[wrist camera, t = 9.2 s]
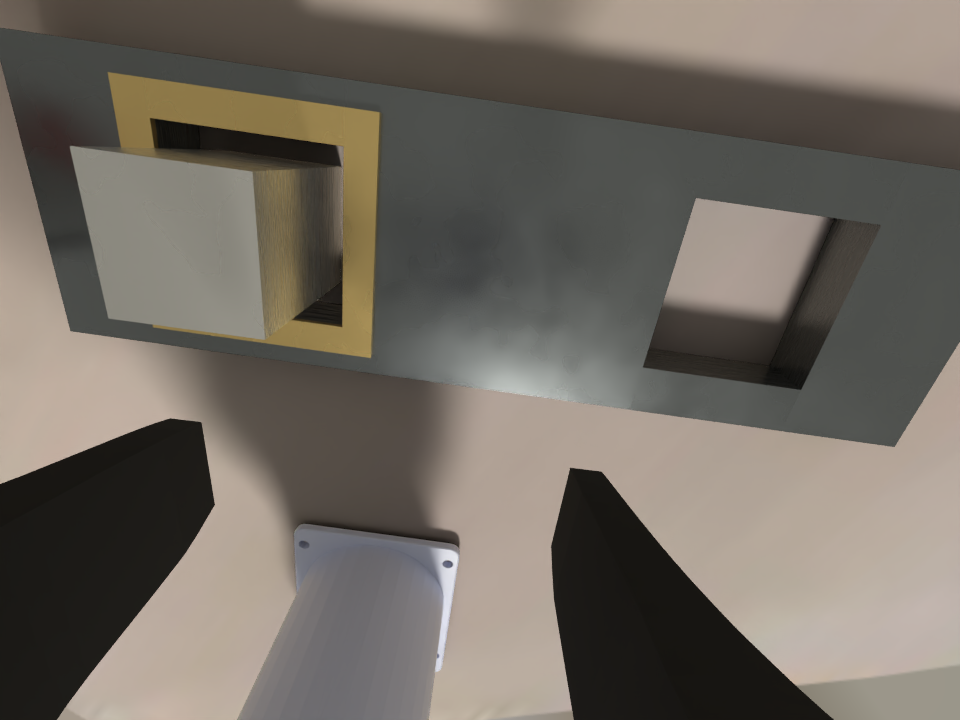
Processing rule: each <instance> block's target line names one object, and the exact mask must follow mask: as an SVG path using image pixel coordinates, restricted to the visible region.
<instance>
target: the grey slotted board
mask: <svg viewBox="0 0 960 720" xmlns="http://www.w3.org/2000/svg"><path fill="white" fill-rule="evenodd" d="M0 61H1V65H2V69H3V73H4V76H5V80H6V84H7V88H8V92H9V96H10V100H11V103H12V107H13V111H14V115H15V119H16V123H17V126H18V130H19V134H20V138H21V142H22V146H23V150H24V153H25V157H26V161H27V165H28V169H29V173H30V177H31V180H32V184H33V188H34V192H35V196H36V200H37V204H38V207H39V211H40V215H41V219H42V223H43V227H44V230H45V234H46V238H47V242H48V246H49V250H50V254H51V257H52V261H53V265H54V269H55V273H56V277H57V281H58V284H59V288H60V292H61V296H62V300H63V304H64V308H65V311H66V315H67V319H68V323H69V327H70V331H74V332H81V333H88V334H95V335H102V336H109V337H116V338H123V339H130V340H138V341H145V342H152V343H159V344H166V345H173V346H180V347H187V348H195V349H202V350H209V351H216V352H223V353H230V354H237V355H244V356H251V357H259V358H266V359H273V360H280V361H287V362H294V363H301V364H308V365H315V366H323V367H330V368H337V369H344V370H351V371H358V372H365V373H372V374H380V375H387V376H394V377H401V378H408V379H415V380H422V381H429V382H436V383H444V384H451V385H458V386H465V387H472V388H479V389H486V390H493V391H500V392H508V393H515V394H522V395H529V396H536V397H543V398H550V399H557V400H565V401H572V402H579V403H586V404H593V405H600V406H607V407H614V408H621V409H629V410H636V411H643V412H650V413H657V414H664V415H671V416H678V417H685V418H693V419H700V420H707V421H714V422H721V423H728V424H735V425H742V426H750V427H757V428H764V429H771V430H778V431H785V432H792V433H799V434H806V435H814V436H821V437H828V438H835V439H842V440H849V441H856V442H863V443H870V444H878V445H885V446H892V447H895V445H896V444H897V442H898V440H899V439H900V437H901V435H902V434H903V432H904V431H905V429H906V427H907V426H908V424H909V423H910V421H911V419H912V418H913V416H914V415H915V413H916V411H917V410H918V408H919V406H920V405H921V403H922V402H923V400H924V398H925V397H926V395H927V394H928V392H929V390H930V389H931V387H932V386H933V384H934V382H935V381H936V379H937V377H938V376H939V374H940V373H941V371H942V369H943V368H944V366H945V365H946V363H947V361H948V360H949V358H950V357H951V355H952V353H953V352H954V350H955V348H956V347H957V345H958V344H959V342H960V170H955V169H948V168H942V167H935V166H928V165H921V164H915V163H908V162H901V161H894V160H888V159H881V158H874V157H868V156H861V155H854V154H847V153H841V152H834V151H827V150H820V149H814V148H807V147H800V146H793V145H787V144H780V143H773V142H766V141H760V140H753V139H746V138H740V137H733V136H726V135H719V134H713V133H706V132H699V131H692V130H686V129H679V128H672V127H665V126H659V125H652V124H645V123H639V122H632V121H625V120H618V119H612V118H605V117H598V116H591V115H585V114H578V113H571V112H564V111H558V110H551V109H544V108H538V107H531V106H524V105H517V104H511V103H504V102H497V101H490V100H484V99H477V98H470V97H463V96H457V95H450V94H443V93H437V92H430V91H423V90H416V89H410V88H403V87H396V86H389V85H383V84H376V83H369V82H362V81H356V80H349V79H342V78H335V77H329V76H322V75H315V74H309V73H302V72H295V71H288V70H282V69H275V68H268V67H261V66H255V65H248V64H241V63H234V62H228V61H221V60H214V59H208V58H201V57H194V56H187V55H181V54H174V53H167V52H160V51H154V50H147V49H140V48H133V47H127V46H120V45H113V44H107V43H100V42H93V41H86V40H80V39H73V38H66V37H59V36H53V35H46V34H39V33H32V32H26V31H19V30H12V29H6V28H0ZM197 125H202V126H209V127H215V128H222V129H229V130H236V131H243V132H250V133H256V134H263V135H270V136H277V137H284V138H291V139H297V140H304V141H311V142H318V143H325V144H331V145H338V146H344V174H343V305H338V304H331V303H324V302H317V301H315V302H314V303H312V304H311V305H310V306H309V307H307V308H306V309H305V310H303V311H302V312H301V313H299V314H298V315H297V316H295V317H294V318H293V319H292V320H290V321H289V322H288V323H286V324H285V325H284V326H282V327H281V328H280V329H279V330H277V331H276V332H275V333H273V334H272V335H271V336H269V337H268V338H267V339H265V340H262V339H255V338H248V337H240V336H233V335H226V334H218V333H211V332H204V331H196V330H189V329H182V328H174V327H167V326H160V325H153V324H145V323H138V322H131V321H123V320H116V319H109V318H108V314H107V310H106V305H105V301H104V297H103V292H102V288H101V283H100V279H99V274H98V270H97V266H96V261H95V257H94V252H93V248H92V243H91V239H90V235H89V230H88V226H87V221H86V217H85V212H84V208H83V204H82V199H81V195H80V190H79V186H78V181H77V177H76V173H75V168H74V164H73V159H72V155H71V150H70V146H92V147H129V148H165V149H200V143H199V134H198V126H197ZM696 198H701V199H707V200H714V201H721V202H728V203H735V204H742V205H748V206H755V207H762V208H769V209H776V210H783V211H789V212H796V213H803V214H810V215H817V216H823V217H830V218H835V221H834V223H833V225H832V227H831V230H830V232H829V234H828V236H827V239H826V241H825V243H824V245H823V248H822V250H821V252H820V254H819V257H818V259H817V261H816V263H815V266H814V268H813V270H812V272H811V275H810V277H809V279H808V281H807V284H806V286H805V288H804V290H803V293H802V295H801V297H800V300H799V302H798V304H797V306H796V309H795V311H794V313H793V315H792V318H791V320H790V322H789V324H788V327H787V329H786V331H785V333H784V336H783V338H782V340H781V342H780V345H779V347H778V349H777V351H776V354H775V356H774V358H773V360H772V363H771V365H770V366H767V365H760V364H753V363H746V362H739V361H732V360H725V359H718V358H711V357H704V356H697V355H690V354H683V353H676V352H669V351H662V350H655V349H649V346H650V342H651V339H652V336H653V333H654V330H655V326H656V323H657V320H658V317H659V314H660V310H661V307H662V304H663V301H664V298H665V295H666V291H667V288H668V285H669V282H670V279H671V275H672V272H673V269H674V266H675V263H676V260H677V256H678V253H679V250H680V247H681V244H682V240H683V237H684V234H685V231H686V228H687V224H688V221H689V218H690V215H691V212H692V209H693V205H694V202H695V199H696Z"/></svg>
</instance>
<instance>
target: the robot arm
mask: <svg viewBox="0 0 960 720" xmlns="http://www.w3.org/2000/svg"><path fill="white" fill-rule="evenodd" d="M214 505H215V504H214V497H213V491H212V485H211V479H210V473H209V466H208V460H207V454H206V448H205V442H204V435H203V429H202V423H201V422H194V421H186V420H178V419H167V420H164V421H161V422H158V423H155V424H152V425H149V426H146V427H143V428H141V429H138V430H135V431H133V432H130V433H128V434H125V435H123V436H120V437H118V438H115V439H112V440H110V441H107V442H105V443H103V444H100V445H98V446H95V447H93V448H90V449H88V450H85V451H83V452H80V453H78V454H75V455H73V456H70V457H68V458H65V459H63V460H60V461H58V462H55V463H53V464H50V465H48V466H45V467H43V468H40V469H38V470H35V471H33V472H30V473H28V474H25V475H23V476H20V477H18V478H15V479H12V480H10V481H7V482H5V483H2V484H0V720H57V719H58V717H59V716H60V714H61V713H62V711H63V710H64V708H65V707H66V706H67V704H68V703H69V701H70V700H71V699H72V697H73V696H74V695H75V693H76V692H77V691H78V689H79V688H80V687H81V685H82V684H83V683H84V681H85V680H86V679H87V677H88V676H89V675H90V673H91V672H92V671H93V670H94V668H95V667H96V666H97V665H98V663H99V662H100V661H101V660H102V658H103V657H104V656H105V655H106V653H107V652H108V651H109V650H110V648H111V647H112V646H113V645H114V643H115V642H116V641H117V639H118V638H119V637H120V636H121V634H122V633H123V632H124V631H125V629H126V628H127V627H128V626H129V624H130V623H131V622H132V621H133V619H134V618H135V617H136V616H137V614H138V613H139V612H140V611H141V609H142V608H143V607H144V606H145V604H146V603H147V602H148V601H149V599H150V598H151V597H152V596H153V594H154V593H155V592H156V590H157V589H158V588H159V587H160V585H161V584H162V583H163V582H164V580H165V579H166V578H167V576H168V575H169V574H170V573H171V571H172V570H173V569H174V567H175V566H176V565H177V564H178V562H179V561H180V560H181V558H182V557H183V556H184V554H185V553H186V551H187V550H188V548H189V547H190V545H191V544H192V542H193V540H194V539H195V537H196V536H197V534H198V532H199V531H200V529H201V527H202V526H203V524H204V522H205V521H206V519H207V517H208V515H209V514H210V512H211V510H212V509H213V507H214ZM305 541H306V542H305ZM294 549H295V569H296V589H297V595H296V597H295V599H294V601H293V603H292V605H291V607H290V609H289V612H288V614H287V616H286V618H285V620H284V622H283V624H282V626H281V628H280V631H279V633H278V635H277V637H276V639H275V641H274V643H273V645H272V647H271V650H270V652H269V654H268V656H267V658H266V660H265V662H264V664H263V666H262V669H261V671H260V673H259V675H258V677H257V679H256V681H255V683H254V685H253V688H252V690H251V692H250V694H249V696H248V698H247V700H246V702H245V704H244V707H243V709H242V711H241V713H240V715H239V717H238V719H237V720H429V713H430V706H431V698H432V691H433V683H434V675H435V672H437V671H439V670H441V668H442V664H443V657H444V651H445V645H446V638H447V632H448V626H449V619H450V613H451V606H452V600H453V594H454V587H455V581H456V575H457V568H458V562H459V555H460V550H459V548H458V547H457V546H456V545H454V544H451V543H444V542H436V541H429V540H422V539H414V538H407V537H400V536H392V535H385V534H378V533H370V532H363V531H356V530H348V529H341V528H333V527H326V526H319V525H311V524H301V525H299V526H298V527H297V528H296V530H295V532H294ZM551 551H552V574H553V590H554V602H555V608H556V614H557V621H558V627H559V633H560V639H561V645H562V651H563V657H564V663H565V669H566V675H567V681H568V687H569V693H570V699H571V705H572V711H573V717H574V720H833V719H832V718H831V717H830V716H829V715H828V714H827V713H825V712H824V711H823V710H822V709H821V708H820V707H819V706H817V705H816V704H815V703H814V702H813V701H812V700H811V699H810V698H809V697H808V696H806V695H805V694H804V693H803V692H802V691H801V690H800V689H799V688H798V687H797V686H796V685H794V684H793V683H792V682H791V681H790V680H789V679H788V678H787V677H786V676H785V675H784V674H783V673H782V672H781V671H780V670H779V669H778V668H777V667H776V666H774V665H773V664H772V663H771V662H770V661H769V660H768V659H767V658H766V657H765V656H764V655H763V654H762V653H761V652H760V651H759V650H758V649H757V648H756V647H755V646H754V645H753V644H752V643H750V642H749V641H748V640H747V639H746V638H745V637H744V636H743V635H742V634H741V633H740V632H739V631H738V630H737V629H736V628H735V627H734V626H733V625H732V624H731V623H730V622H729V620H728V619H727V618H726V617H725V616H724V615H723V614H722V613H721V612H720V611H719V610H718V609H717V608H716V607H715V606H714V605H713V603H712V602H711V601H710V600H709V599H708V598H707V597H706V596H705V595H704V594H703V593H702V592H701V591H700V590H699V588H698V587H697V586H696V585H695V584H694V583H693V582H692V581H691V580H690V579H689V577H688V576H687V575H686V574H685V573H684V572H683V571H682V570H681V568H680V567H679V566H678V565H677V564H676V563H675V562H674V560H673V559H672V558H671V557H670V556H669V555H668V553H667V552H666V551H665V550H664V549H663V548H662V546H661V545H660V544H659V543H658V542H657V540H656V539H655V538H654V537H653V536H652V534H651V533H650V532H649V531H648V529H647V528H646V527H645V526H644V525H643V523H642V522H641V521H640V520H639V518H638V517H637V516H636V515H635V513H634V512H633V511H632V510H631V508H630V507H629V506H628V505H627V503H626V502H625V501H624V499H623V498H622V497H621V496H620V494H619V493H618V492H617V490H616V489H615V488H614V487H613V485H612V484H611V483H610V482H609V480H608V479H607V478H606V477H605V475H604V474H603V473H602V472H599V471H591V470H583V469H575V468H570V471H569V475H568V479H567V484H566V488H565V492H564V496H563V500H562V504H561V508H560V512H559V516H558V521H557V525H556V529H555V533H554V537H553V541H552V545H551ZM445 560H449V562H448V561H445Z"/></svg>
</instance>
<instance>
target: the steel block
mask: <svg viewBox="0 0 960 720" xmlns="http://www.w3.org/2000/svg"><path fill="white" fill-rule="evenodd" d="M70 150H71V155H72V159H73V164H74V168H75V173H76V177H77V181H78V186H79V190H80V195H81V199H82V204H83V208H84V212H85V217H86V221H87V226H88V230H89V235H90V239H91V243H92V248H93V252H94V257H95V261H96V266H97V270H98V274H99V279H100V283H101V288H102V292H103V297H104V301H105V305H106V310H107V314H108V318H109V319H116V320H123V321H131V322H138V323H145V324H153V325H160V326H167V327H174V328H182V329H189V330H196V331H204V332H211V333H218V334H226V335H233V336H240V337H248V338H255V339H262V340H265V339H267V338H268V337H269V336H271V335H272V334H273V333H275V332H276V331H277V330H279V329H280V328H281V327H282V326H284V325H285V324H286V323H288V322H289V321H290V320H292V319H293V318H294V317H295V316H297V315H298V314H299V313H301V312H302V311H303V310H305V309H306V308H307V307H309V306H310V305H311V304H312V303H314V302H315V301H316V300H318V299H319V298H320V297H322V296H323V295H324V294H325V293H327V292H328V291H329V290H331V289H332V288H333V287H335V286H336V285H337V284H339V283H340V282H341V218H342V167H340V166H333V165H326V164H319V163H312V162H305V161H298V160H291V159H284V158H277V157H270V156H262V155H255V154H248V153H241V152H234V151H227V150H202V149H165V148H129V147H92V146H70Z"/></svg>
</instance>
